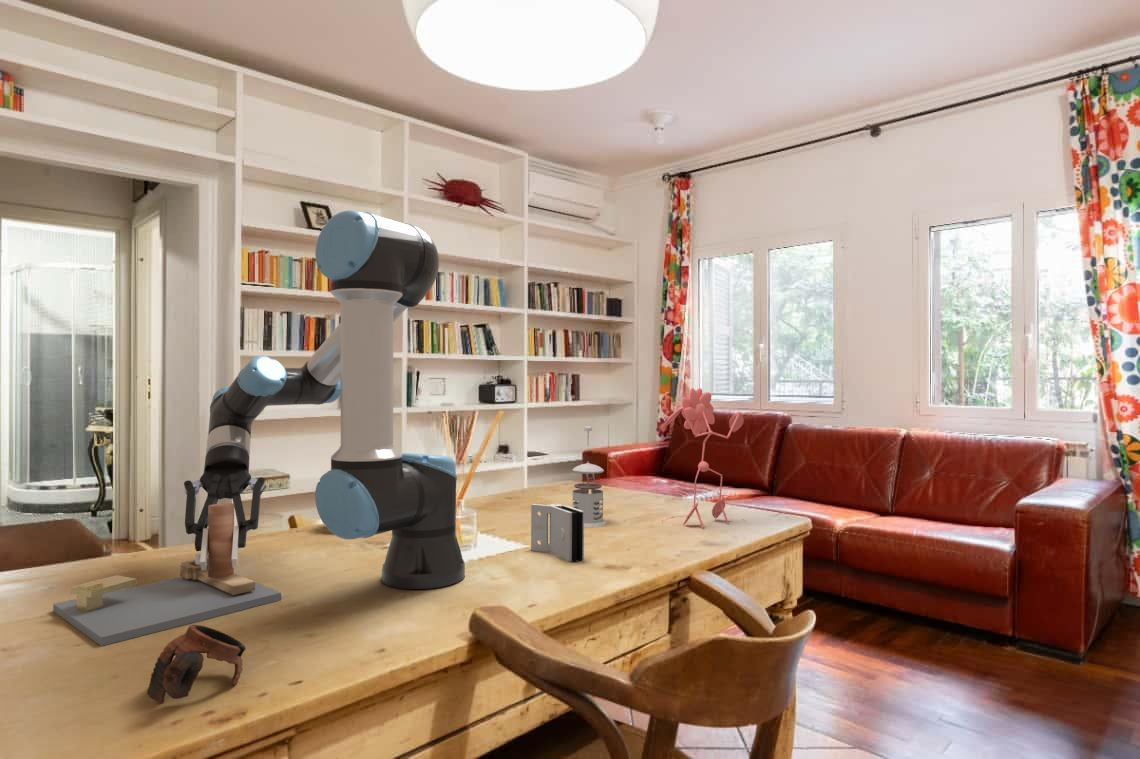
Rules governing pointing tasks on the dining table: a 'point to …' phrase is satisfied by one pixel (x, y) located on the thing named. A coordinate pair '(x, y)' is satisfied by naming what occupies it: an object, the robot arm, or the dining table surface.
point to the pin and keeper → (104, 589)
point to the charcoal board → (158, 608)
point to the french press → (589, 501)
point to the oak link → (219, 554)
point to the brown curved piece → (192, 661)
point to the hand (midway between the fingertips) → (218, 564)
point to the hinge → (558, 531)
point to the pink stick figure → (697, 420)
